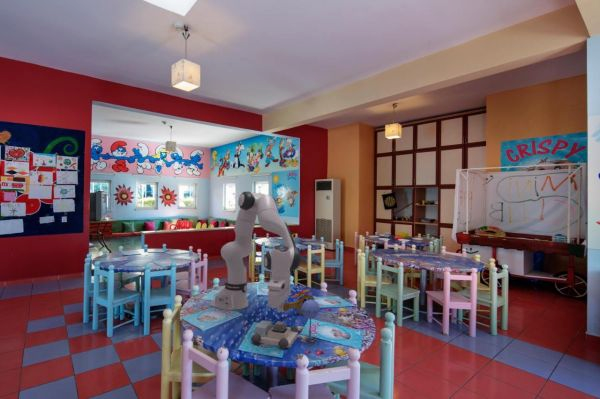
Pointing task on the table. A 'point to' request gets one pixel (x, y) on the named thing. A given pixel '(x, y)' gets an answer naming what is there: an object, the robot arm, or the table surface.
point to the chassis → (274, 335)
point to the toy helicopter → (298, 301)
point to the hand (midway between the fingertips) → (280, 311)
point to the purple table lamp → (310, 311)
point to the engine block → (279, 327)
